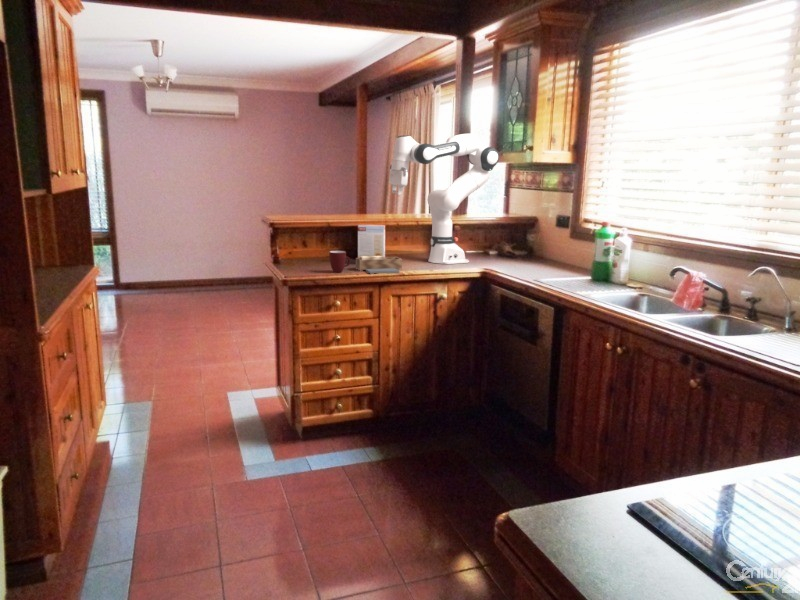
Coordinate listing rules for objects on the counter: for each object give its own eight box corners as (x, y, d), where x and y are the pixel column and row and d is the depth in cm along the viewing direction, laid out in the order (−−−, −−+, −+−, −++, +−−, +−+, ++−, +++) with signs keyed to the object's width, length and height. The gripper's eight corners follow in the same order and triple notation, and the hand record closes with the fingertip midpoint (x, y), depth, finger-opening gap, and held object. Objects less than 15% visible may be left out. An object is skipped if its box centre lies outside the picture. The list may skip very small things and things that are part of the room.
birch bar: (380, 260, 313) (380, 255, 313) (383, 261, 309) (383, 257, 309) (359, 261, 310) (359, 256, 309) (362, 262, 306) (362, 257, 305)
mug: (344, 269, 308) (344, 250, 306) (353, 272, 301) (353, 251, 299) (326, 271, 301) (326, 251, 299) (335, 274, 295) (335, 253, 293)
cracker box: (385, 263, 330) (385, 224, 326) (383, 265, 324) (384, 225, 320) (359, 262, 331) (359, 223, 327) (357, 264, 325) (357, 224, 321)
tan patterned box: (396, 267, 319) (397, 256, 318) (401, 269, 311) (402, 258, 310) (355, 268, 312) (355, 257, 311) (359, 271, 305) (359, 260, 303)
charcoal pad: (394, 270, 309) (394, 268, 308) (399, 273, 302) (399, 270, 301) (365, 271, 304) (365, 269, 304) (369, 274, 297) (369, 271, 297)
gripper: (412, 168, 309) (408, 196, 311) (400, 167, 328) (396, 193, 330) (400, 166, 307) (396, 194, 309) (388, 166, 326) (385, 192, 328)
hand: (396, 194), depth 320 cm, fingers open, 8 cm apart
